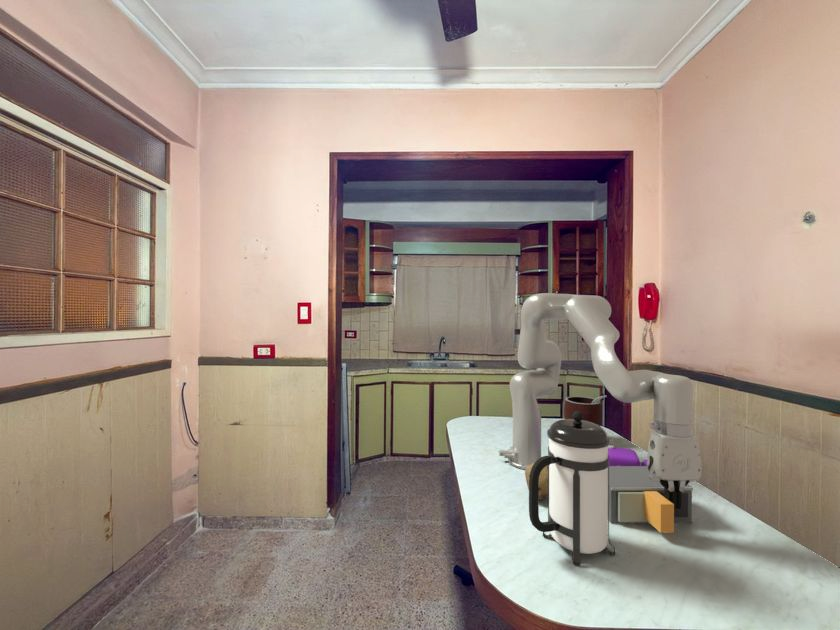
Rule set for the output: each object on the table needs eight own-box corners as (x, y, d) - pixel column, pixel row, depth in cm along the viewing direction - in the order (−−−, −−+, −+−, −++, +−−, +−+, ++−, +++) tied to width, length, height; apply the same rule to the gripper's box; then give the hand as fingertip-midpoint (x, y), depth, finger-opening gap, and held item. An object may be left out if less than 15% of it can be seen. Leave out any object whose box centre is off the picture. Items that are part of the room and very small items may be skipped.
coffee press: (544, 517, 91) (544, 399, 91) (616, 537, 83) (616, 408, 83) (528, 558, 76) (528, 417, 76) (613, 586, 68) (613, 429, 68)
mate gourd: (561, 444, 142) (561, 394, 142) (567, 434, 154) (567, 387, 154) (605, 452, 134) (605, 398, 134) (608, 441, 146) (608, 391, 145)
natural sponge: (558, 493, 103) (558, 458, 103) (560, 509, 95) (560, 471, 95) (525, 488, 106) (525, 455, 106) (524, 504, 98) (524, 467, 98)
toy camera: (659, 494, 103) (659, 459, 103) (607, 489, 106) (607, 455, 106) (644, 477, 114) (644, 445, 114) (597, 473, 116) (597, 442, 116)
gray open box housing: (603, 524, 88) (603, 487, 88) (580, 498, 101) (580, 466, 101) (692, 523, 88) (692, 487, 88) (659, 498, 101) (659, 466, 101)
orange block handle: (634, 537, 81) (634, 504, 81) (617, 520, 88) (617, 489, 88) (673, 537, 81) (673, 504, 81) (654, 520, 88) (654, 489, 88)
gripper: (651, 433, 81) (651, 515, 81) (717, 433, 81) (717, 514, 81) (631, 423, 88) (631, 497, 88) (692, 423, 88) (692, 497, 88)
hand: (672, 505), depth 84 cm, fingers closed
